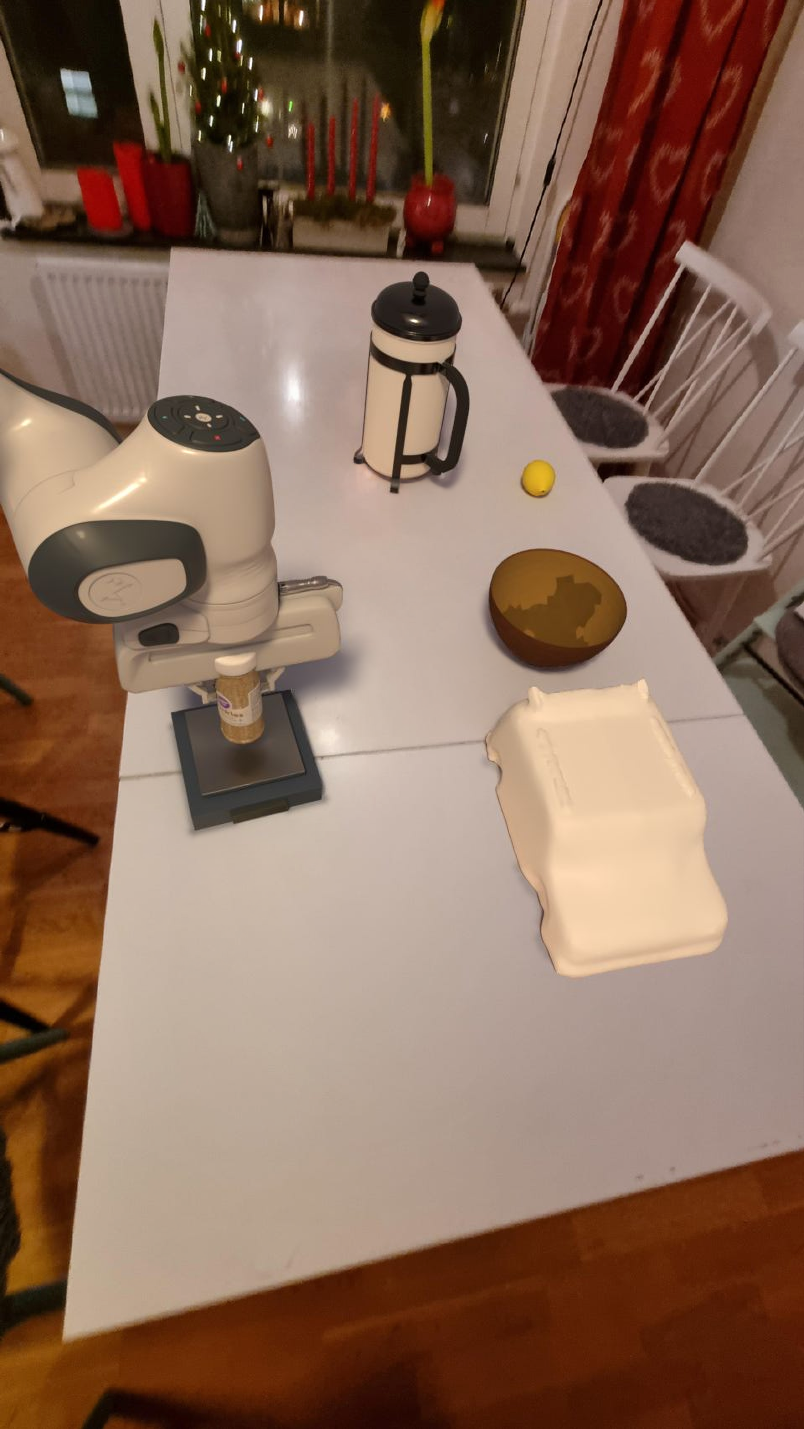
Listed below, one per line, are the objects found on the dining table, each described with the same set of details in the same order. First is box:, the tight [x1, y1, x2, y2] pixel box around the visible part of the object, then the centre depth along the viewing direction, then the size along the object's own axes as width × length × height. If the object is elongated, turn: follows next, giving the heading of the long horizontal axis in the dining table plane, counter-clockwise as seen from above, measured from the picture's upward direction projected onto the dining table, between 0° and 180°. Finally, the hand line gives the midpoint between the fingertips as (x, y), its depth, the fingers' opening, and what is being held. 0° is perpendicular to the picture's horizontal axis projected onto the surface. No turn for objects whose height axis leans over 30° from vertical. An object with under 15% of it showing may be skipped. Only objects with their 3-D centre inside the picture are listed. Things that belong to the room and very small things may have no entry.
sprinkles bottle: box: [213, 652, 264, 744], centre depth 68 cm, size 5×5×14 cm
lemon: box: [521, 459, 556, 497], centre depth 115 cm, size 7×5×5 cm
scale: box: [170, 688, 323, 831], centre depth 79 cm, size 14×15×3 cm
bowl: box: [488, 548, 628, 669], centre depth 92 cm, size 18×18×10 cm
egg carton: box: [485, 675, 729, 979], centre depth 74 cm, size 19×30×13 cm, turn 12°
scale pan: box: [185, 693, 305, 798], centre depth 77 cm, size 11×11×1 cm
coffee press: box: [353, 270, 471, 494], centre depth 104 cm, size 17×16×30 cm
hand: (237, 692), depth 69 cm, fingers closed on sprinkles bottle, 4 cm apart
